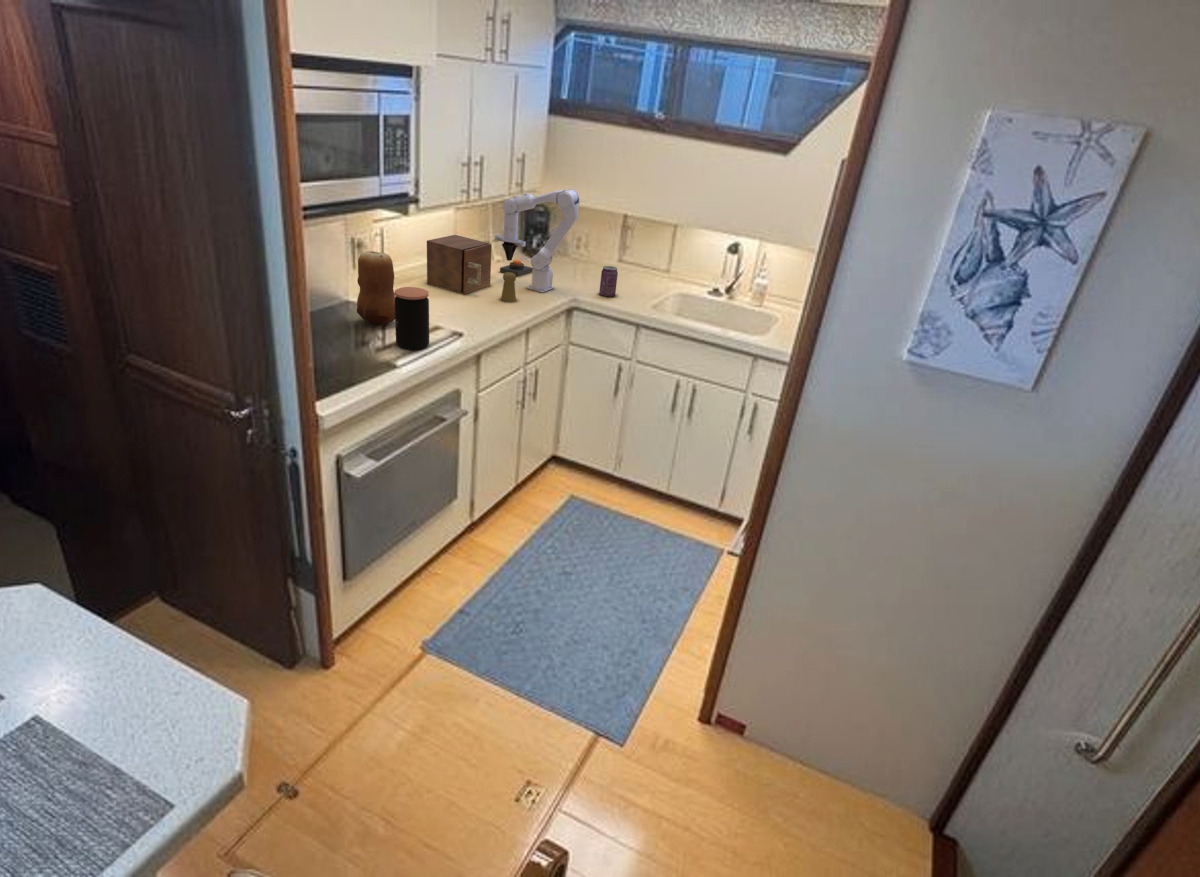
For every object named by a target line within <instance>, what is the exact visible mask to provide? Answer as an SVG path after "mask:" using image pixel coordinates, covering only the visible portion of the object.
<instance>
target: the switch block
mask: <svg viewBox="0 0 1200 877" xmlns="http://www.w3.org/2000/svg"><path fill="white" fill-rule="evenodd" d="M532 268H533V267H532V266H527V265H525V264H524V263H523V262H521V265H514V264H513V261H511V262H509V264H507V265H505V266H500V268H499V272H500V273H501V274H504V273H506V272H511V273H514V274H515V275H516V278H519V277H523V276H525V275H528V274H532Z"/></svg>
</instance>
